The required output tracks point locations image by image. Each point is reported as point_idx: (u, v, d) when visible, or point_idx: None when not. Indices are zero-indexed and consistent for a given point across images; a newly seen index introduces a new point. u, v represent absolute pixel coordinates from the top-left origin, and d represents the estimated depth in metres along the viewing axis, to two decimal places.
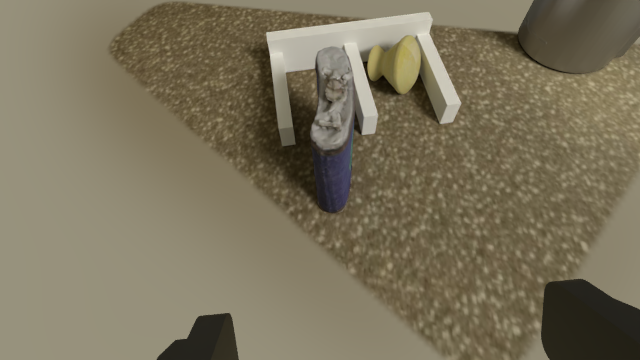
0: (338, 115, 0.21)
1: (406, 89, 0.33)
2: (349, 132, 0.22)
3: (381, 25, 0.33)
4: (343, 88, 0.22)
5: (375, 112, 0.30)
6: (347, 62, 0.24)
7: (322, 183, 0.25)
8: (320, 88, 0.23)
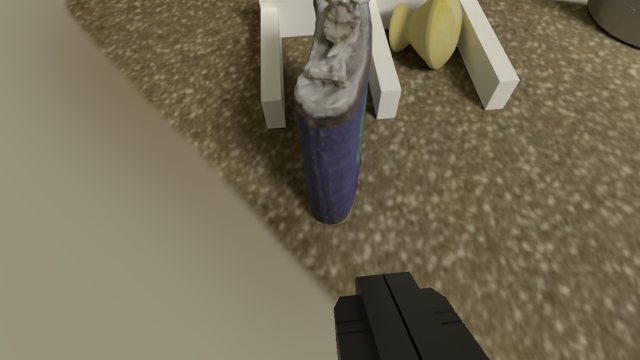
0: (342, 62, 0.13)
1: (440, 62, 0.24)
2: (359, 92, 0.13)
3: None
4: (353, 22, 0.14)
5: (398, 86, 0.22)
6: None
7: (313, 178, 0.16)
8: (317, 27, 0.15)
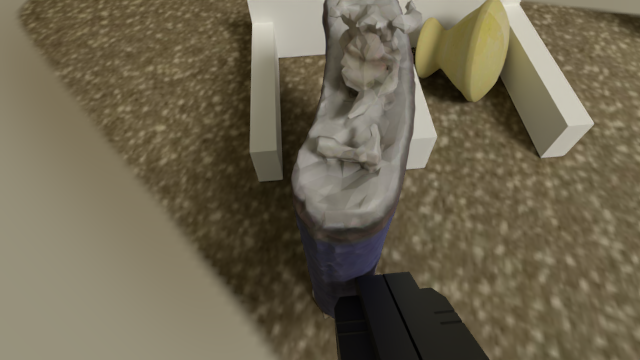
0: (374, 128, 0.08)
1: (482, 94, 0.19)
2: (401, 178, 0.08)
3: None
4: (390, 58, 0.08)
5: (432, 131, 0.16)
6: (397, 9, 0.11)
7: (320, 282, 0.11)
8: (330, 60, 0.10)
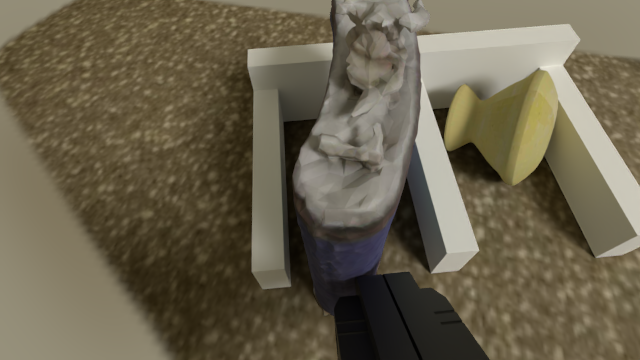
0: (377, 128, 0.08)
1: (524, 178, 0.16)
2: (403, 178, 0.08)
3: (477, 45, 0.17)
4: (396, 57, 0.08)
5: (472, 243, 0.13)
6: (406, 7, 0.10)
7: (320, 280, 0.11)
8: (336, 58, 0.09)
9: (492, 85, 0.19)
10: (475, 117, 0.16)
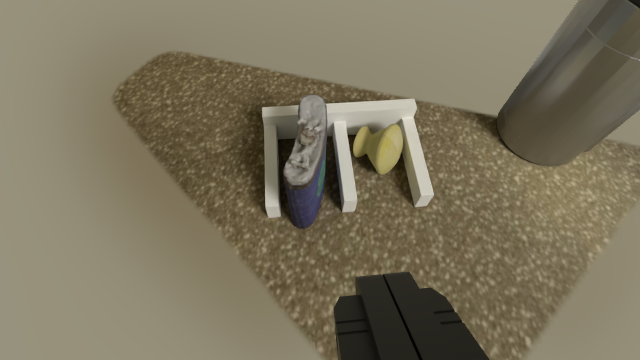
0: (307, 158, 0.27)
1: (387, 171, 0.36)
2: (315, 172, 0.27)
3: (369, 109, 0.36)
4: (315, 136, 0.27)
5: (355, 197, 0.33)
6: (324, 111, 0.30)
7: (292, 207, 0.30)
8: (298, 131, 0.29)
9: (381, 125, 0.38)
10: (366, 143, 0.36)
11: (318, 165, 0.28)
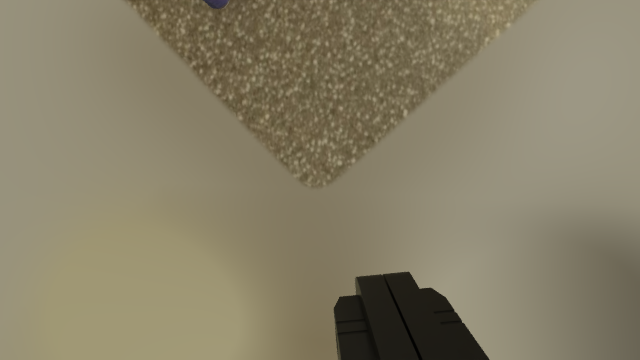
0: None
1: None
2: None
3: None
4: None
5: None
6: None
7: None
8: None
9: None
10: None
11: None
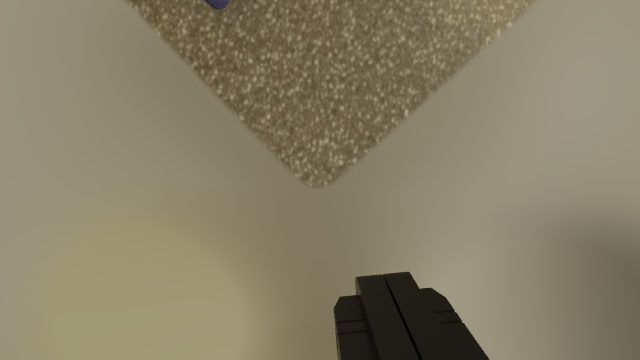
0: None
1: None
2: None
3: None
4: None
5: None
6: None
7: None
8: None
9: None
10: None
11: None
